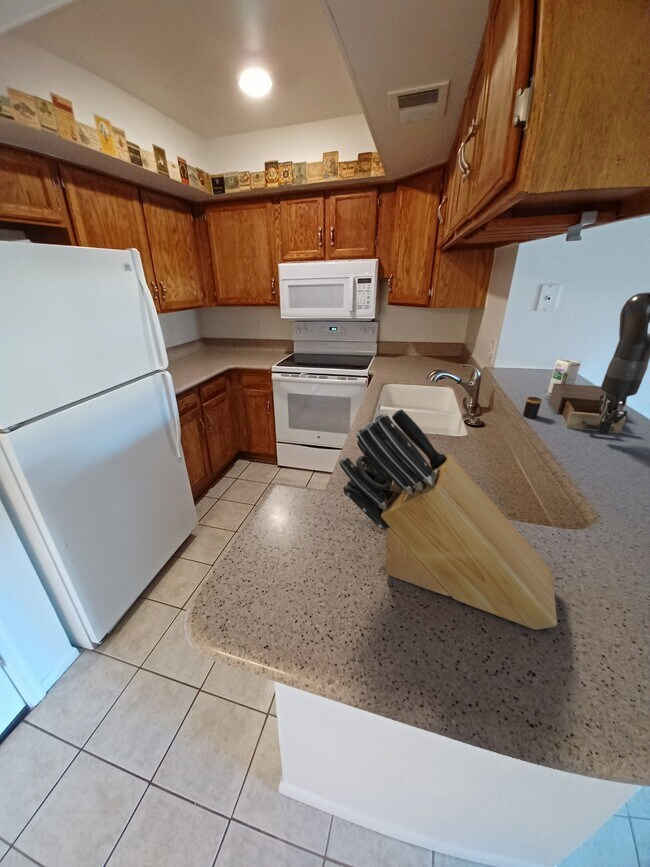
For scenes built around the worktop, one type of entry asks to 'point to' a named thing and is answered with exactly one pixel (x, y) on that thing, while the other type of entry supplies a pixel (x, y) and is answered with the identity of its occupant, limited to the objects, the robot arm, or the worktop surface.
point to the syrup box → (564, 373)
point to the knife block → (445, 526)
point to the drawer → (585, 416)
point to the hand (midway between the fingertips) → (601, 433)
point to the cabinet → (574, 394)
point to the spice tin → (532, 407)
